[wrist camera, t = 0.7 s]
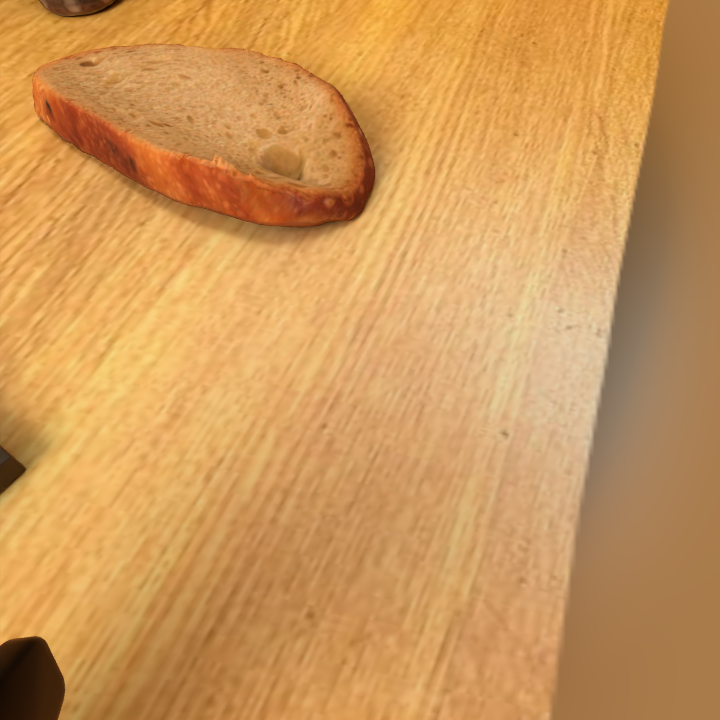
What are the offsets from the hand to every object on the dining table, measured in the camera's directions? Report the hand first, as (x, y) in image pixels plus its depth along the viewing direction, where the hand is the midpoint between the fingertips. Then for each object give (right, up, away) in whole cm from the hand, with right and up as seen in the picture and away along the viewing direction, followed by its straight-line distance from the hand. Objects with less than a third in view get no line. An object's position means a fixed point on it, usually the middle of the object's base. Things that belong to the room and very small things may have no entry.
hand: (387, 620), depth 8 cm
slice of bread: (-10, +15, +26) cm, 31 cm away
